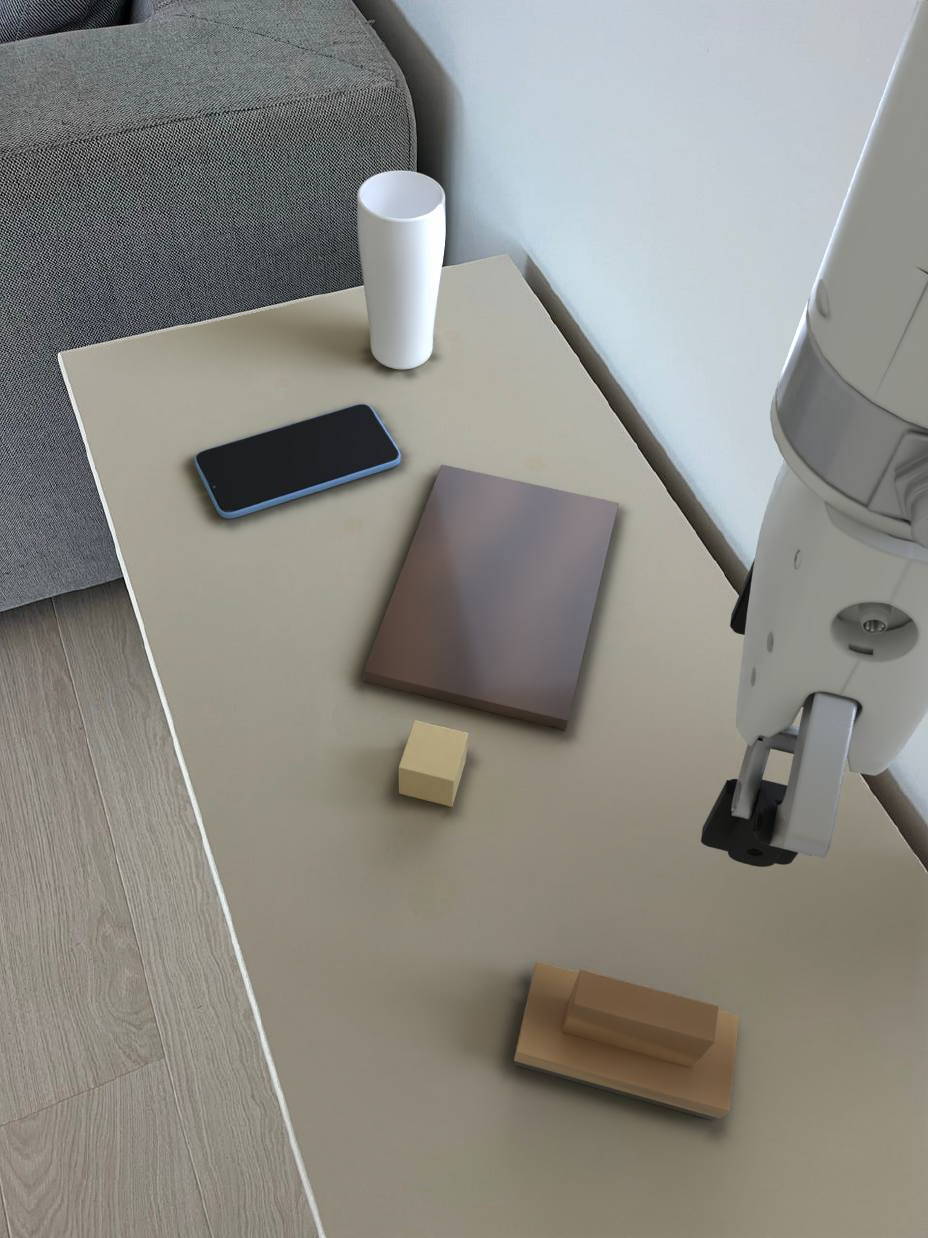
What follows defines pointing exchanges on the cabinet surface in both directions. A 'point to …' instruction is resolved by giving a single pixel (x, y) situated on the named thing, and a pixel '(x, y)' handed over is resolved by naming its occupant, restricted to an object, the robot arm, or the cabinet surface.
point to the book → (496, 597)
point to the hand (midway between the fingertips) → (756, 733)
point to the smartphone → (296, 460)
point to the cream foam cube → (432, 763)
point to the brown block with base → (629, 1040)
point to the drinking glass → (401, 263)
